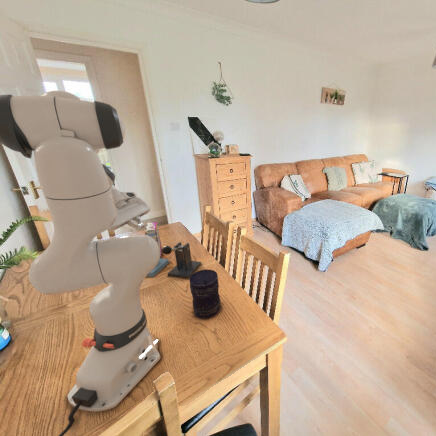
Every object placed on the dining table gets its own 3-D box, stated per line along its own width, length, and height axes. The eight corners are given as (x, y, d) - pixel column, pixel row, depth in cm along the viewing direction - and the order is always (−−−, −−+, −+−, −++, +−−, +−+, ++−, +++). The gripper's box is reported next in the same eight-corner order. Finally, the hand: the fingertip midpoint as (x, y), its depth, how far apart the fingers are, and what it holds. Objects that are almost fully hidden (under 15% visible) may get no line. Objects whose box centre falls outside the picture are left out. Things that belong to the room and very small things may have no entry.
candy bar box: (161, 258, 122) (156, 230, 116) (150, 260, 120) (144, 231, 114) (162, 248, 132) (157, 221, 125) (152, 250, 130) (146, 222, 123)
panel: (153, 277, 108) (151, 269, 107) (133, 274, 109) (131, 267, 108) (169, 262, 119) (167, 256, 118) (150, 260, 120) (149, 253, 119)
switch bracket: (188, 278, 108) (184, 252, 103) (168, 276, 109) (163, 250, 104) (201, 264, 119) (198, 239, 114) (182, 262, 120) (178, 237, 115)
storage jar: (192, 304, 94) (187, 273, 88) (217, 297, 98) (214, 266, 92) (195, 322, 85) (190, 289, 80) (223, 314, 90) (220, 281, 84)
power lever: (167, 255, 97) (168, 246, 97) (159, 254, 97) (160, 245, 97) (186, 252, 111) (187, 244, 111) (179, 251, 111) (180, 243, 111)
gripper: (94, 206, 83) (125, 234, 85) (137, 191, 102) (162, 214, 104) (86, 217, 85) (117, 244, 88) (129, 200, 104) (154, 222, 106)
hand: (142, 227), depth 96 cm, fingers closed
